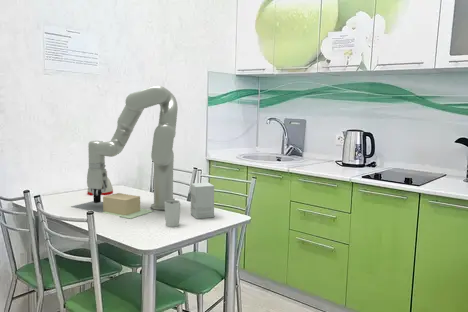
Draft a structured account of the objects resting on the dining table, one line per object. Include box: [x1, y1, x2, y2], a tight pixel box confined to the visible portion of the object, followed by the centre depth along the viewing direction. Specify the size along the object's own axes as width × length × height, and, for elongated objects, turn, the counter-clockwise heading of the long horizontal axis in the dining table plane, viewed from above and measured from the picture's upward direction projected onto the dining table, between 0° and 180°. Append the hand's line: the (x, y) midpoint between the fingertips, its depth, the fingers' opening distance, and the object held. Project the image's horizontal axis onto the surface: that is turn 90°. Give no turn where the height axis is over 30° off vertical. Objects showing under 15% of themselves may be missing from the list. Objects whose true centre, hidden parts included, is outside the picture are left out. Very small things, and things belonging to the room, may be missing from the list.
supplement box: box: [190, 182, 215, 220], centre depth 190 cm, size 9×9×15 cm
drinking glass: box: [164, 199, 181, 227], centre depth 175 cm, size 7×7×10 cm
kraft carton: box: [102, 192, 141, 215], centre depth 194 cm, size 14×10×7 cm
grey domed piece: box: [86, 176, 114, 196], centre depth 234 cm, size 14×14×15 cm
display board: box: [70, 200, 154, 220], centre depth 199 cm, size 39×16×1 cm, turn 62°
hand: (97, 202), depth 203 cm, fingers closed
